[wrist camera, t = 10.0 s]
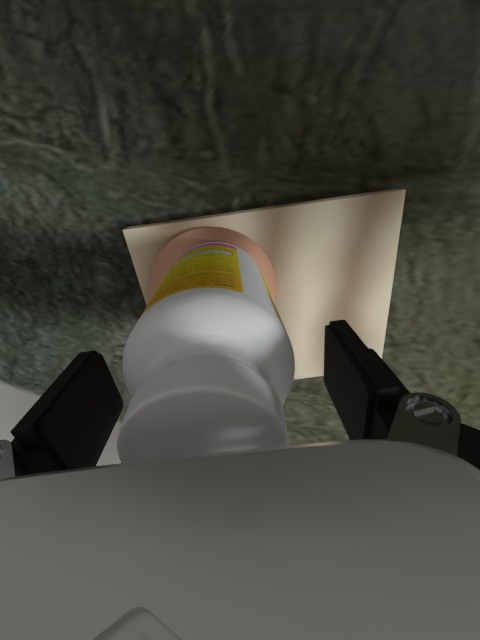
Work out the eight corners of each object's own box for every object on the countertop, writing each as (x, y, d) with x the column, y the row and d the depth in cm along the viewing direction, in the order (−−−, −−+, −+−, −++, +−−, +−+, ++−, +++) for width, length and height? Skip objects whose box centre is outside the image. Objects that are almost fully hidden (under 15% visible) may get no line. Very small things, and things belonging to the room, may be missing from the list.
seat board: (392, 188, 18) (409, 189, 16) (372, 357, 25) (382, 370, 23) (129, 226, 18) (120, 231, 17) (177, 383, 25) (174, 398, 23)
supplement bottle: (149, 292, 19) (26, 466, 7) (209, 216, 17) (173, 290, 5) (222, 345, 21) (218, 543, 9) (284, 284, 19) (375, 441, 7)
